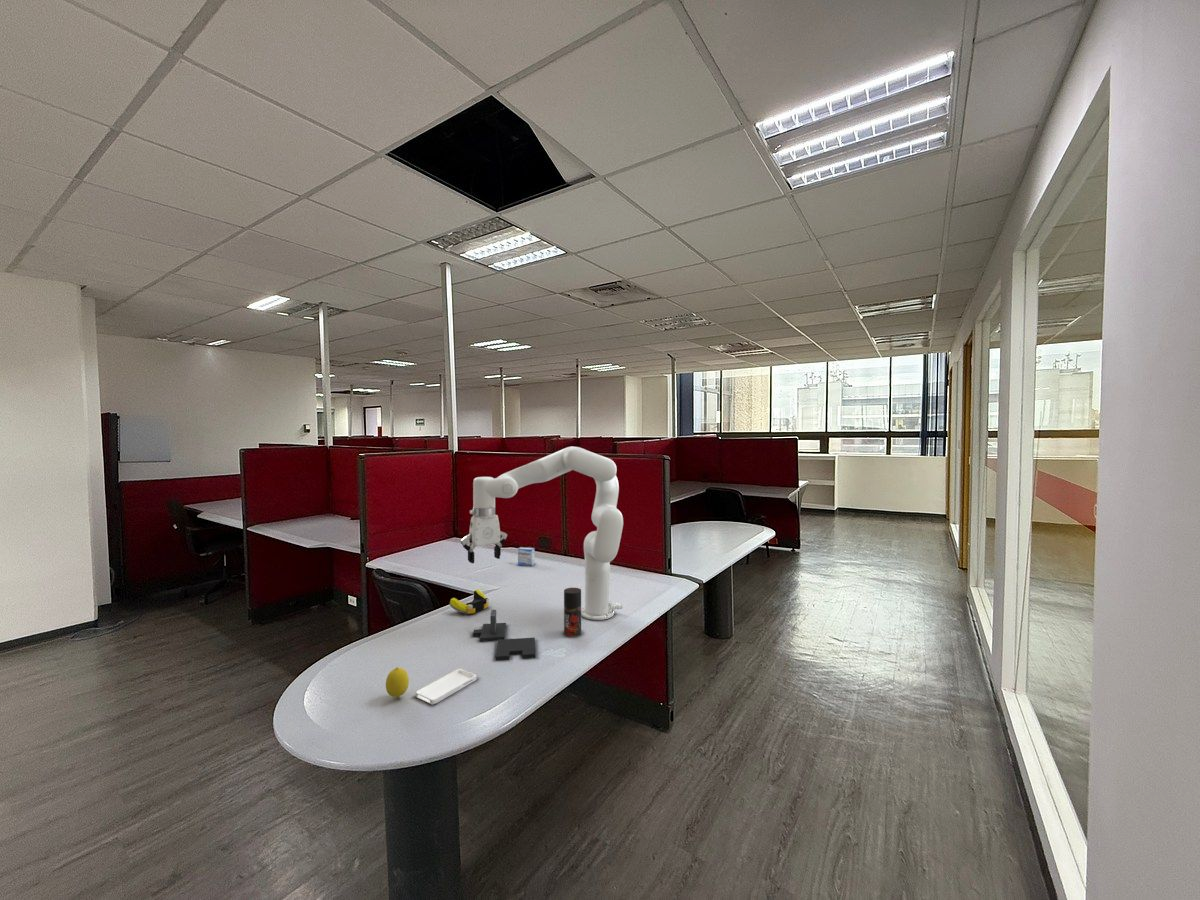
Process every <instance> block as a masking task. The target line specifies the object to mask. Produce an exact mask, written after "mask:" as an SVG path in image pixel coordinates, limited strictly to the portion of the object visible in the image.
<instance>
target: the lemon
mask: <svg viewBox="0 0 1200 900" xmlns="http://www.w3.org/2000/svg"><path fill="white" fill-rule="evenodd" d="M409 684H410V680H409V675H408V672H407V671H406V670H405V669H404V668H402V667H397V666H396V667H395V668H394V669H392V670H391V671H389V673H388V674H387V676H386V679H385V690H386V693H387V694H388V695H389V696H390V697H392V698H395V699H399V698H400V697H401V696H403V695H404V694H405V693H406V692H407V690H408V688H409Z"/></svg>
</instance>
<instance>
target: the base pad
mask: <svg viewBox="0 0 1200 900" xmlns="http://www.w3.org/2000/svg"><path fill="white" fill-rule="evenodd" d="M513 655H521V658H522V659H535V658H536V638H535V637H521V638H518V637H517V638H505V639H502V640H498V641H497V645H496V652H495V661H505V660H510V656H513Z"/></svg>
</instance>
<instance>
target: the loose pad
mask: <svg viewBox="0 0 1200 900" xmlns="http://www.w3.org/2000/svg"><path fill="white" fill-rule="evenodd" d="M489 620H490V621H489V622H490V623H482V626H481V627H482V628H477V629H473V632H472V637H479V642H481V643H482V642H496V641H497V642H498V640H502V639H506V629H507V622H497V609H491V612H490V618H489Z"/></svg>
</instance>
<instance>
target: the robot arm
mask: <svg viewBox="0 0 1200 900" xmlns="http://www.w3.org/2000/svg"><path fill="white" fill-rule="evenodd" d="M617 470H618V469H617V465H616V462H614V460H613V459H612V458H609V457H606V456H603V455H601V454H598V453H595V452H592V451H590V450H587V449H585V448H582V447H580V446H572V445H571V446H567V447H565V448H562V449H560V450H557V451H555V452H553V453H551V454H548V455H546V456H544V457H541V458H538V459H536V460H534V461H531V462H529V463H526V464H524V465H522V466H519V467H516V468H514V469H512V470H509V471H506V472H504V473H502V474H500V475H499V476H497V477H495V478H494V477H492V476H477V477H475V478H473V482H472V488H473V489H472V501H473V502H472V509H469V514H470V515H472V516H471V517H470V522H469V523H470V525H469V531H468V532H469V533H468V534H467V535H465V536H464V537H463V538H461V539H460V540H459V542H460V544H461V545H462V547H463V549H465V550H466V551H467V561H468V562H469V563H471V564H475V551H474V550H475V548H476V547H484V546H490V545H495V546H493V551H494V552H493V557H494V558H495V559H497V560H500V559H501V556H502V555H501V554H502V553H501V552H502V549H501V548H503V545H504V543H505V542H506V540H507V537H508V533H506V532H504V531H501V527H500V521H499V515H498V514H496V498H499V499H500V498H502V499H510V498H513V497H514V496H516V494H517V493H518V491H519V489H521V488H524V487H526V486H529V485H532V484H539V483H546V482H548V481H551V480H553V479H555V478H558V477H561V476H562V475H564V474H566V473H569V472H571V471H575V472H576V473H579V474H582V475H585V476H587V477H590V478H593V480H594V482H595V485H596V486H595V487H596V488H595V489H596V491H595V497H594V502H593V506H592V507H593V508H592V512H591V521H592V524H593V525H594V526H595V527H596V530H593V531H590V532H589V533H587V535H586V536H585V537H584V540H583V556H584V607H583V608H581V617H583V618H584V619H587V620H590V621H591V620H593V621H604V620H608V619H610V618H612V617H614V615H615V610H623V603H618V602H612V601H611V562H612V561H613V560H614V559H615V558H616V556H617V555H618V552H619V548H620V543H621V539H622V533H623V528H624V517H623V514H622V512H621V511H620V510H619V509H618V508H617V505H618V499H619V493H620V486H619V480H618V477H617ZM467 542H469V544H467Z"/></svg>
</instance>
